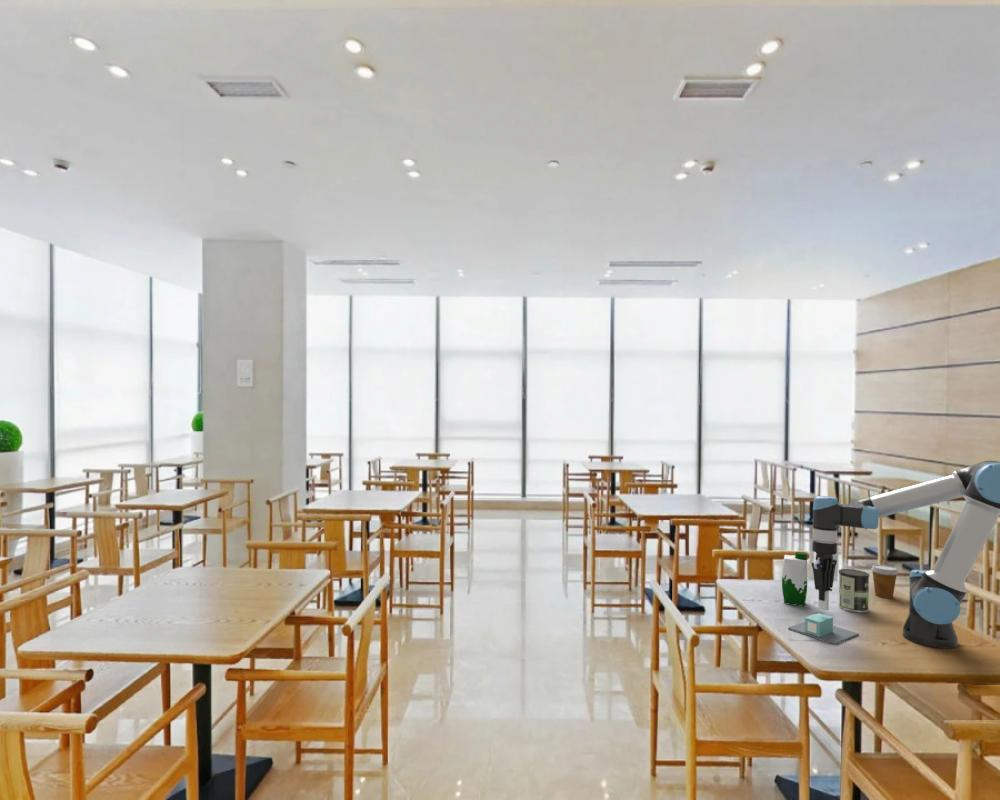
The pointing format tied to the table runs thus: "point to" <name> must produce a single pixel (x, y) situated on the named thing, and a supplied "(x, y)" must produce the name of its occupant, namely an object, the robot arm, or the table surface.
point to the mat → (833, 637)
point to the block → (818, 624)
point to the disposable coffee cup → (884, 580)
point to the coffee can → (853, 590)
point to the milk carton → (794, 578)
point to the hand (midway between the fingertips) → (823, 609)
